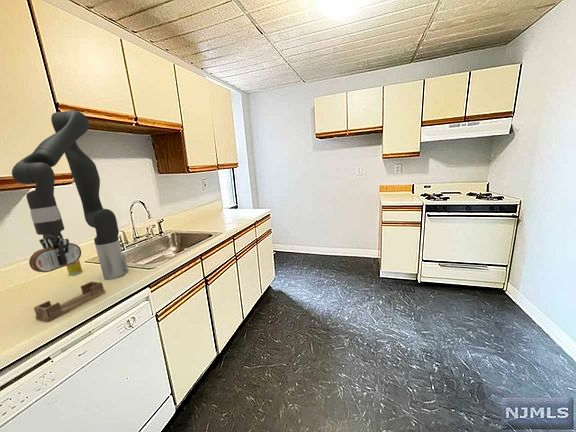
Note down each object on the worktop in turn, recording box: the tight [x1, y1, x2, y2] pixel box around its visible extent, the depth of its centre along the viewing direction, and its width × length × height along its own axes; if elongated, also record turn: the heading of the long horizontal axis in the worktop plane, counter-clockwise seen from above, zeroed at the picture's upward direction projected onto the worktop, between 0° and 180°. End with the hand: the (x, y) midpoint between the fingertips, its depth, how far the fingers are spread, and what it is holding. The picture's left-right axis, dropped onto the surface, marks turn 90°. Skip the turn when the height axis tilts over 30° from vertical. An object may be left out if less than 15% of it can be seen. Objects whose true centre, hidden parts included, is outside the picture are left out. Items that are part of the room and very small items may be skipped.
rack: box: [33, 280, 107, 323], centre depth 97 cm, size 7×20×5 cm, turn 161°
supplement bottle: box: [66, 259, 83, 277], centre depth 129 cm, size 5×5×10 cm
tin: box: [28, 242, 82, 273], centre depth 93 cm, size 15×3×8 cm, turn 160°
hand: (61, 264), depth 94 cm, fingers closed on tin, 2 cm apart
